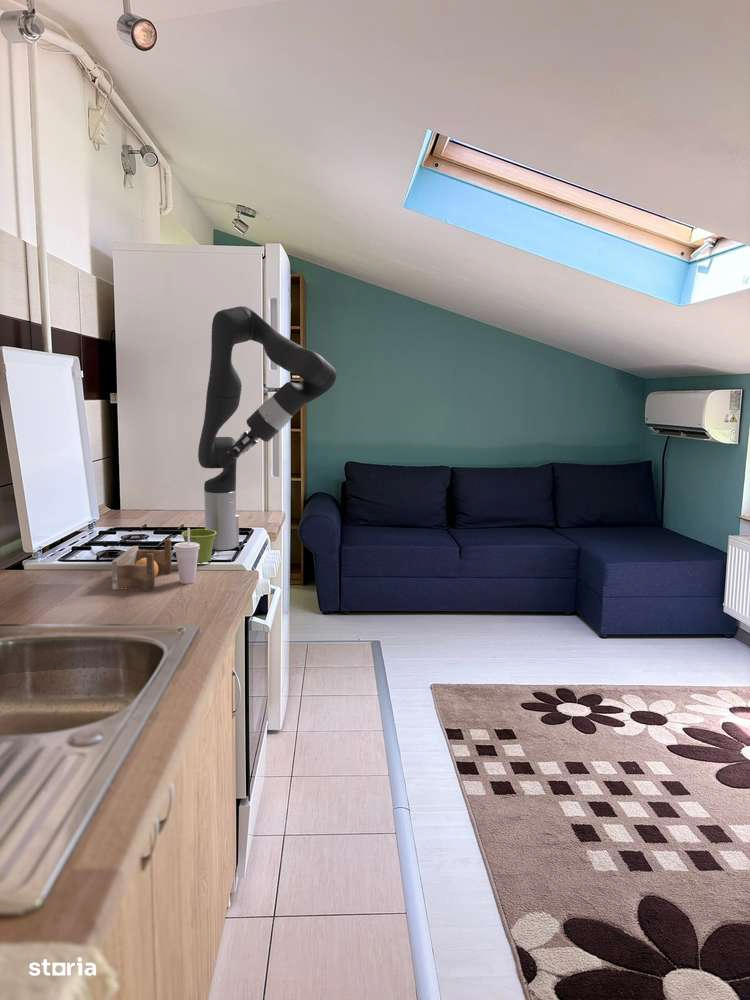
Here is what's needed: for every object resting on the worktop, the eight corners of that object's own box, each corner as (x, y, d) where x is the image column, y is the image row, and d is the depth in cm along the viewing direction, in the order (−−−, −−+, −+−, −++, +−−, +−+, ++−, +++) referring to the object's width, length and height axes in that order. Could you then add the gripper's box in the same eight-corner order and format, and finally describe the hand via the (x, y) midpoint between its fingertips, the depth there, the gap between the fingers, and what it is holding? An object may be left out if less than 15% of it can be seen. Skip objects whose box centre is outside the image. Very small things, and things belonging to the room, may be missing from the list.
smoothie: (194, 585, 203) (193, 531, 200) (170, 584, 204) (168, 529, 202) (204, 579, 209) (203, 526, 207) (181, 577, 210) (180, 524, 208)
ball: (160, 560, 210) (141, 570, 210) (147, 549, 205) (127, 560, 206) (164, 578, 206) (144, 589, 207) (151, 568, 201) (130, 579, 202)
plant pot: (223, 561, 228) (223, 531, 226) (203, 568, 219) (202, 537, 218) (196, 557, 232) (195, 527, 230) (175, 564, 223) (174, 533, 222)
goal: (171, 572, 215) (170, 539, 213) (153, 590, 198) (152, 554, 197) (134, 571, 215) (133, 538, 214) (112, 589, 198) (111, 553, 197)
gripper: (263, 405, 207) (219, 449, 209) (254, 409, 193) (206, 456, 195) (284, 427, 207) (240, 470, 210) (276, 432, 193) (229, 478, 196)
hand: (224, 463), depth 202 cm, fingers open, 8 cm apart
